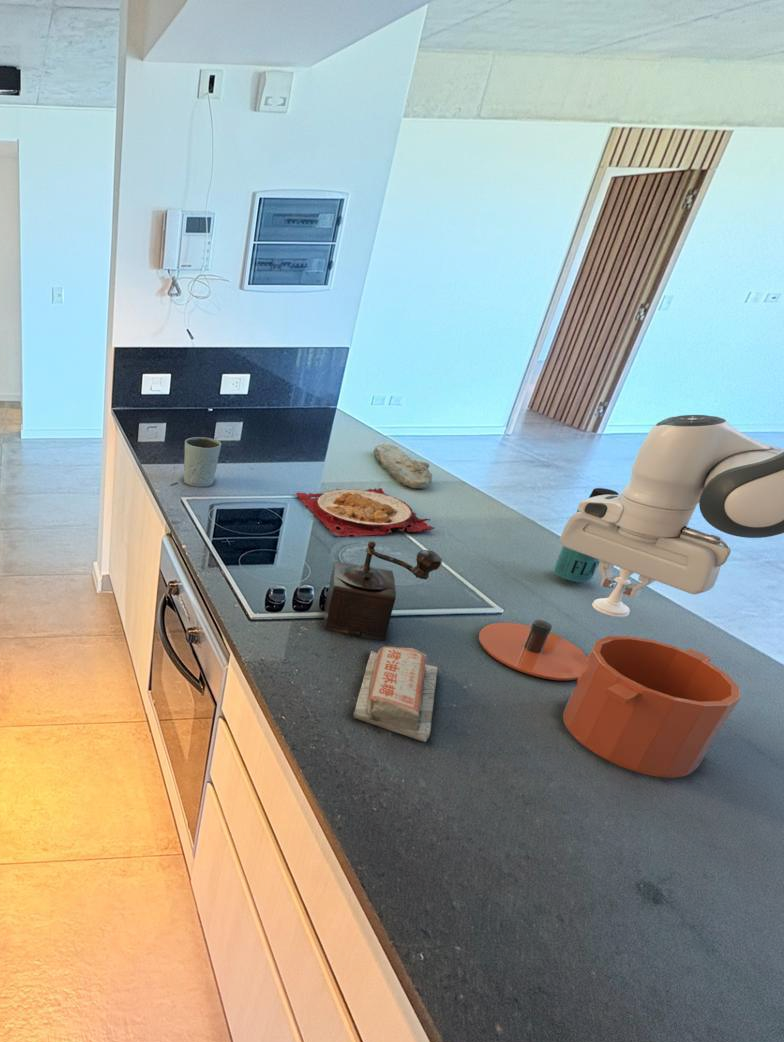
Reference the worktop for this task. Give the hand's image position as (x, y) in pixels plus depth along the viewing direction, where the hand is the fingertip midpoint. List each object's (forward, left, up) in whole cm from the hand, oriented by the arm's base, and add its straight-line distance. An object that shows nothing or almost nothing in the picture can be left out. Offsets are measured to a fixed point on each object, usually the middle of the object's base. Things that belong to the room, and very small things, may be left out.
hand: (618, 591), depth 104 cm
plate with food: (+57, -6, -10) cm, 58 cm away
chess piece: (0, 0, -4) cm, 4 cm away
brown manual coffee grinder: (+20, +32, -10) cm, 39 cm away
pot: (-16, +22, -10) cm, 29 cm away
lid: (+2, +14, -10) cm, 17 cm away
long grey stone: (+76, -42, -10) cm, 87 cm away
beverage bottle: (+14, -18, -10) cm, 25 cm away
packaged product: (+4, +44, -10) cm, 46 cm away
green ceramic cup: (+94, +17, -10) cm, 96 cm away
